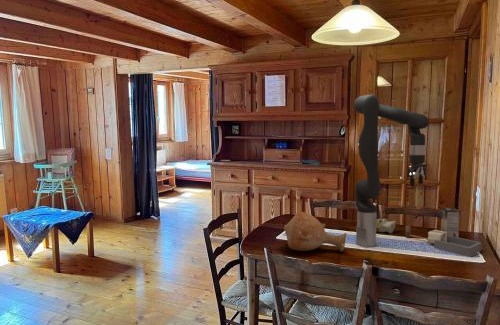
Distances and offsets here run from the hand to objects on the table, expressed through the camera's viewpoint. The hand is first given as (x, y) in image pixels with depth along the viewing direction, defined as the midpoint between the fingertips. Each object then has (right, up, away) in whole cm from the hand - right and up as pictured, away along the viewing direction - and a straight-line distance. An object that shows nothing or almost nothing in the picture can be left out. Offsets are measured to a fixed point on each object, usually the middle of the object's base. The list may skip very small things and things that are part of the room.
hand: (416, 184), depth 191 cm
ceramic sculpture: (-12, -28, +18) cm, 35 cm away
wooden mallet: (+3, -29, -1) cm, 29 cm away
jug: (-55, -32, -12) cm, 65 cm away
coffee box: (+18, -29, +2) cm, 34 cm away
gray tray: (+13, -30, -14) cm, 36 cm away
